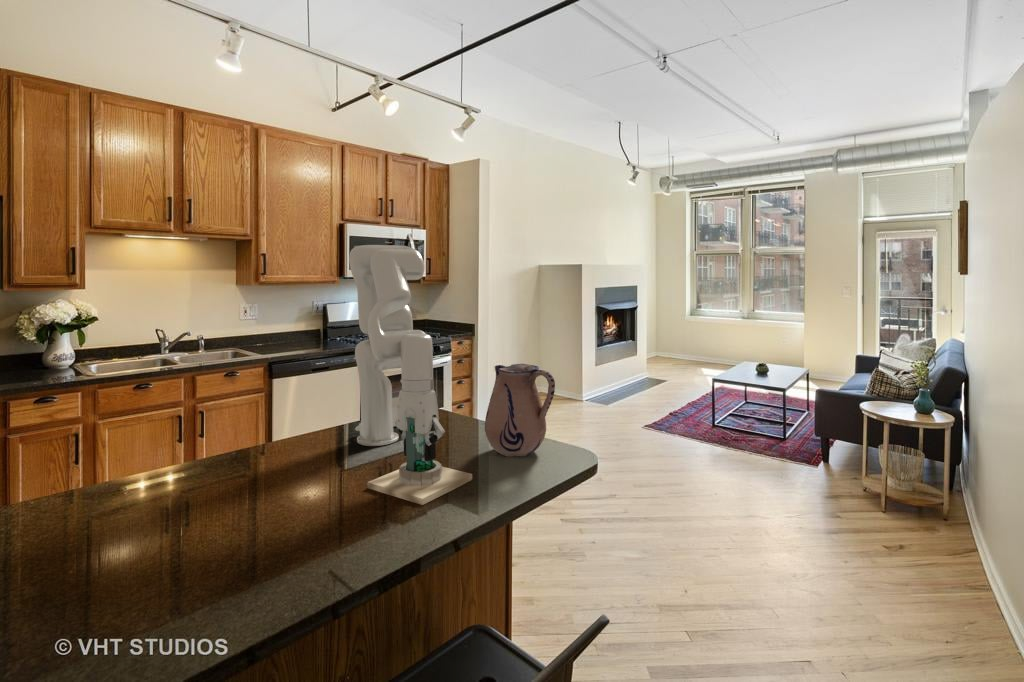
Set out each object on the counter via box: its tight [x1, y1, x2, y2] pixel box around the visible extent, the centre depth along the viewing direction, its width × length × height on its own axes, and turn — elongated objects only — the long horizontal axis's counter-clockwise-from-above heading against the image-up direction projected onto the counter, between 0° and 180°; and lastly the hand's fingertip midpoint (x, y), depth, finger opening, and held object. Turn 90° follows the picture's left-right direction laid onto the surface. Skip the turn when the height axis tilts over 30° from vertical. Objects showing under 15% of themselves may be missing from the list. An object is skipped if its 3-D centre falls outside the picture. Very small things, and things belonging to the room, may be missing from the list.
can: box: [405, 417, 434, 472], centre depth 135 cm, size 6×6×15 cm
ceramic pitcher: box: [484, 363, 556, 457], centre depth 158 cm, size 18×21×25 cm
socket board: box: [367, 459, 473, 506], centre depth 136 cm, size 18×18×4 cm
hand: (419, 456), depth 136 cm, fingers closed on can, 6 cm apart
